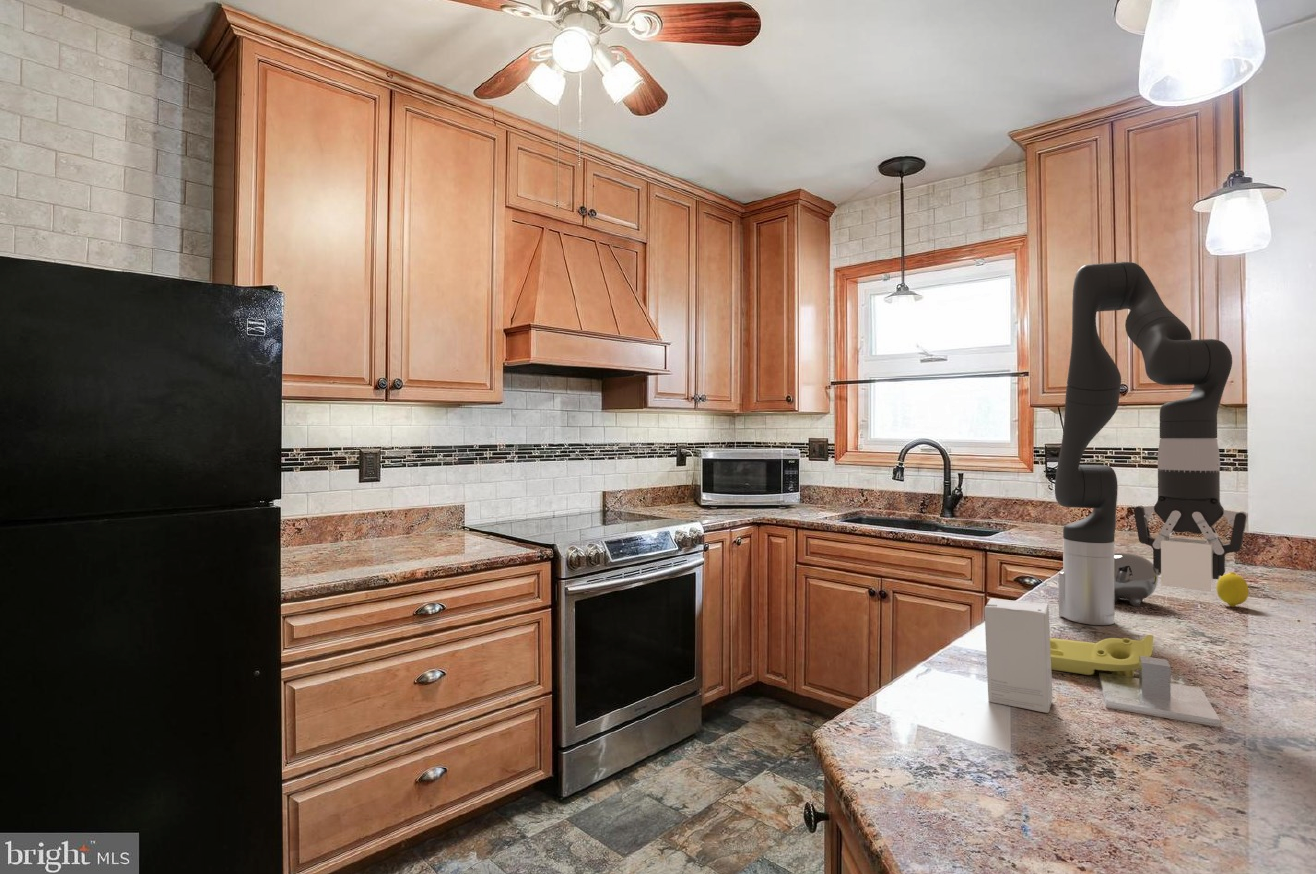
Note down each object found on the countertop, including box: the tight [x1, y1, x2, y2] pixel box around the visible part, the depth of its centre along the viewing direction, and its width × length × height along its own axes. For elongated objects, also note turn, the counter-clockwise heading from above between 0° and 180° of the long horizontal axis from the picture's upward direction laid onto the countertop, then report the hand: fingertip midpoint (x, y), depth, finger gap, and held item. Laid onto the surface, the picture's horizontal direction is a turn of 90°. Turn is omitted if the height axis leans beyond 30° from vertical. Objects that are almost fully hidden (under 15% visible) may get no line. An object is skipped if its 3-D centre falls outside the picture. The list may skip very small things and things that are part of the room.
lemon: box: [1216, 571, 1250, 608], centre depth 151 cm, size 6×6×8 cm
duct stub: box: [1099, 656, 1221, 728], centre depth 99 cm, size 13×13×6 cm
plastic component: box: [1050, 634, 1154, 678], centre depth 113 cm, size 20×7×10 cm
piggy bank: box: [1114, 552, 1161, 607], centre depth 156 cm, size 11×15×12 cm
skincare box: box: [984, 597, 1053, 714], centre depth 99 cm, size 8×6×15 cm
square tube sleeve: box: [1160, 536, 1217, 593], centre depth 102 cm, size 6×6×7 cm
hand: (1188, 575), depth 102 cm, fingers closed on square tube sleeve, 6 cm apart
